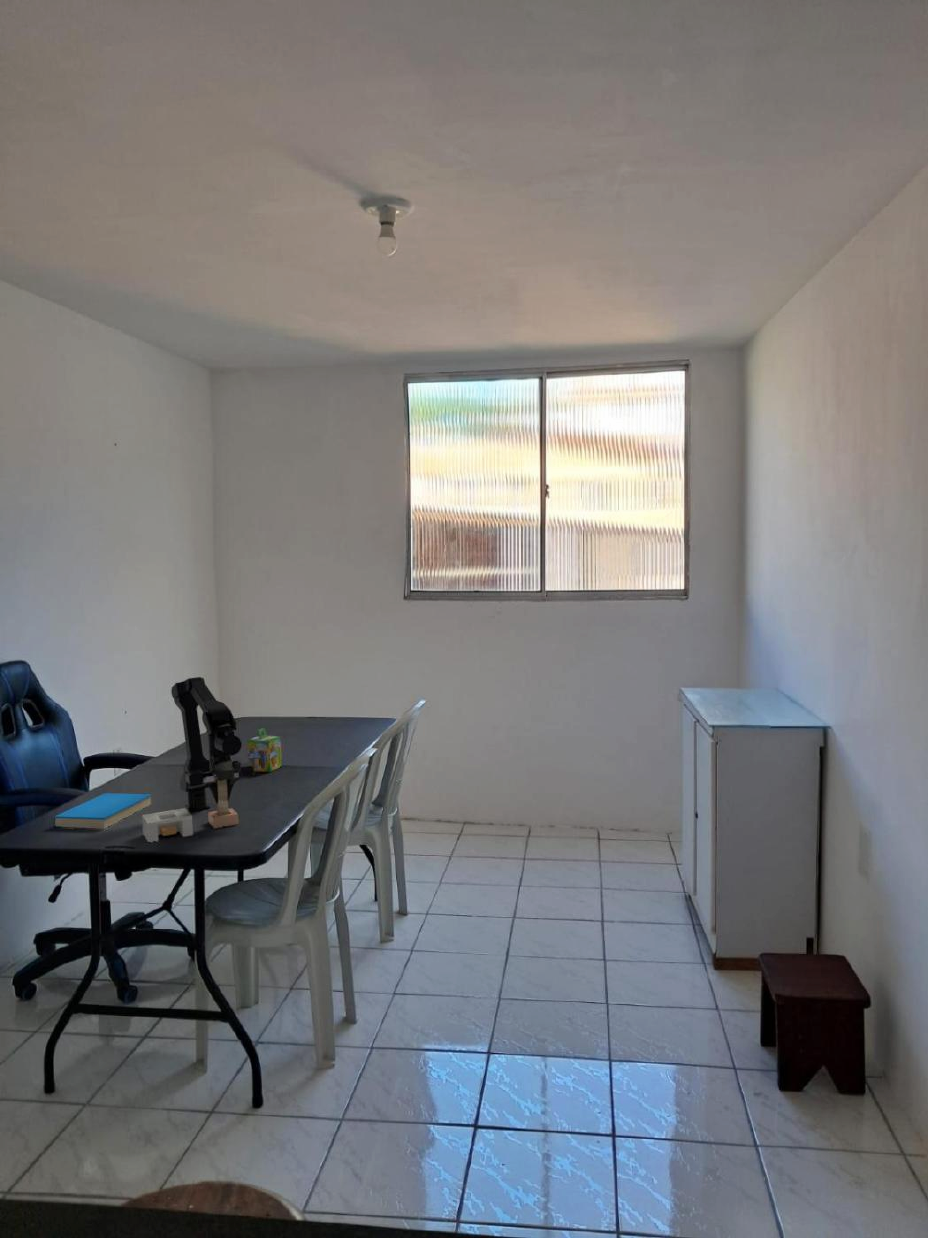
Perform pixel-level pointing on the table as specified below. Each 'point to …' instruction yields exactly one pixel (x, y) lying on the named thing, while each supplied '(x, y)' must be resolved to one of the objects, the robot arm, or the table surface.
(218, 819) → the holder
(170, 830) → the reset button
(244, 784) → the table surface
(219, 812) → the tan square peg
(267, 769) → the printed toy box
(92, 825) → the book
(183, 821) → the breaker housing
